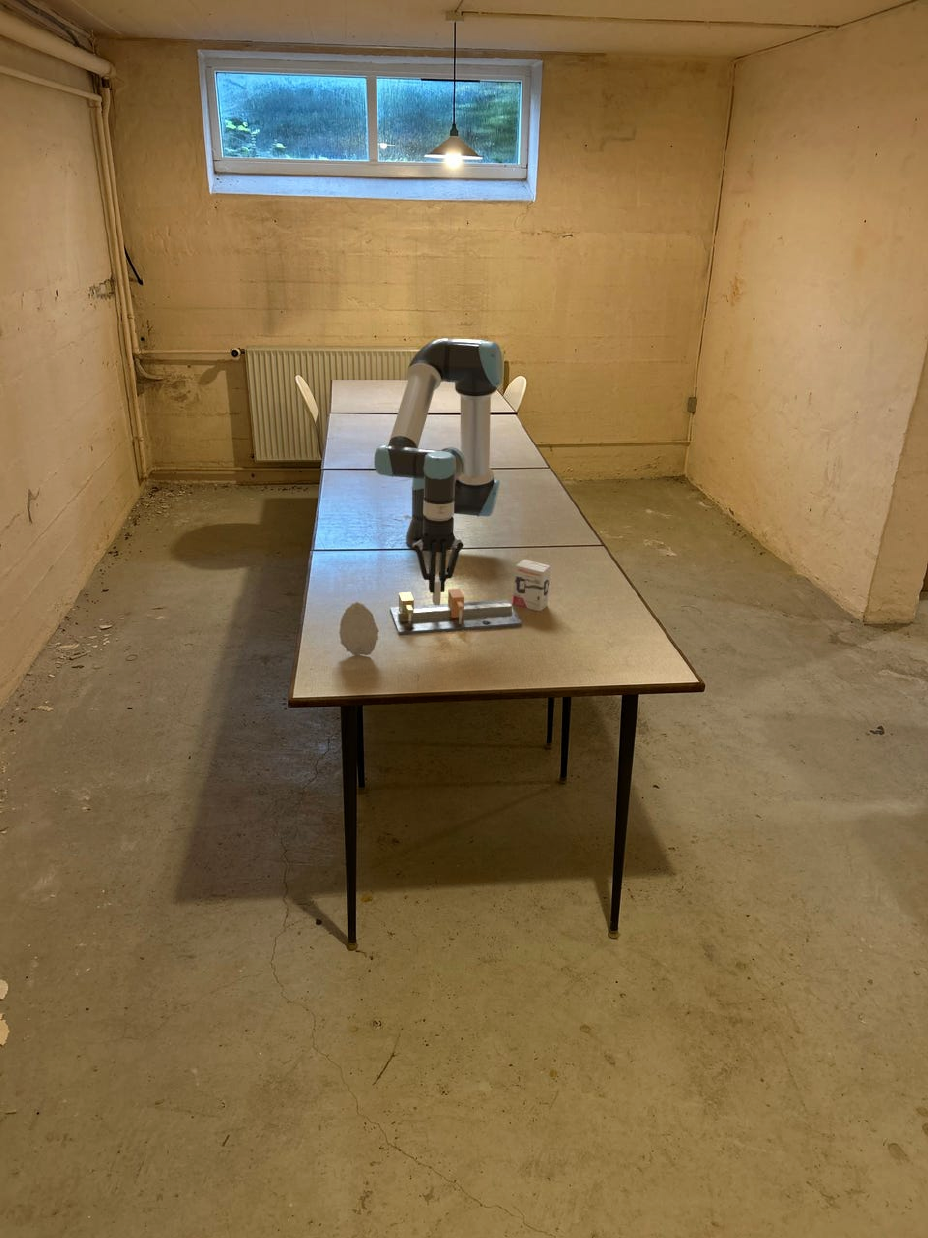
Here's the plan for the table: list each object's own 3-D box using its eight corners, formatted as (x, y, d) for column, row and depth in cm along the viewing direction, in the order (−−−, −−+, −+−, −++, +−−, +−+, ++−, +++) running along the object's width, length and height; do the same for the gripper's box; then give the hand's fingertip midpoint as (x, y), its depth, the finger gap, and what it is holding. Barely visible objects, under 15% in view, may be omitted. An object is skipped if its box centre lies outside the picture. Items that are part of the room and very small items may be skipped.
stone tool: (379, 653, 203) (378, 596, 196) (378, 659, 200) (378, 602, 194) (340, 653, 203) (338, 596, 196) (339, 659, 200) (337, 602, 193)
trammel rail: (396, 614, 220) (396, 592, 217) (508, 607, 226) (509, 585, 224) (402, 630, 212) (402, 607, 209) (517, 621, 219) (519, 599, 216)
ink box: (512, 604, 230) (514, 564, 225) (520, 597, 234) (523, 558, 229) (540, 612, 227) (544, 571, 221) (548, 605, 231) (551, 565, 225)
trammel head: (447, 610, 223) (448, 589, 220) (458, 609, 223) (459, 588, 220) (455, 625, 215) (455, 603, 212) (466, 624, 216) (467, 603, 213)
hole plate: (390, 610, 224) (390, 607, 223) (506, 603, 231) (507, 599, 230) (399, 635, 212) (399, 631, 211) (521, 626, 219) (521, 622, 218)
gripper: (415, 522, 203) (413, 611, 213) (468, 520, 206) (464, 607, 216) (409, 511, 209) (408, 598, 220) (461, 509, 212) (457, 595, 223)
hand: (436, 602), depth 218 cm, fingers closed
